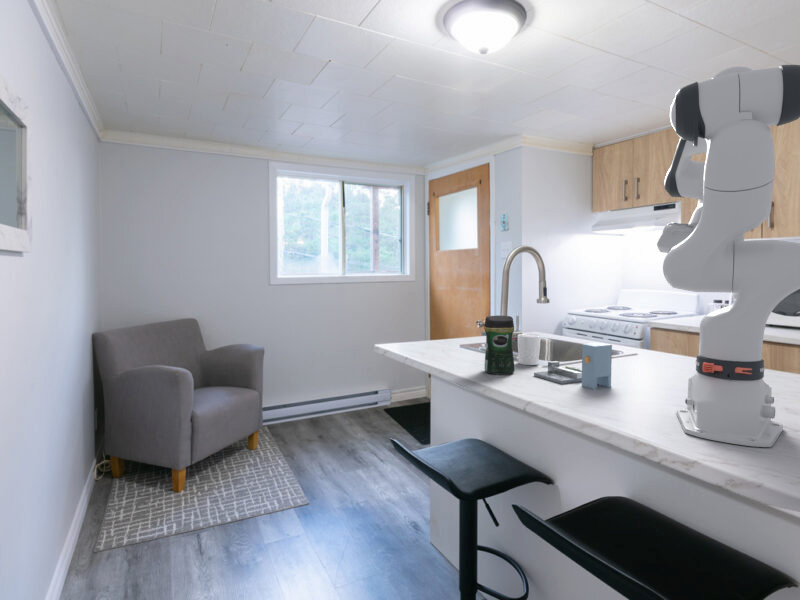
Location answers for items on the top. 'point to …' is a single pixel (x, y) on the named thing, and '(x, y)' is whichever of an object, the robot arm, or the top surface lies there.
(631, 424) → the top surface
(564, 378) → the rail plate
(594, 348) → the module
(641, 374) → the top surface
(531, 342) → the white cup
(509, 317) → the coffee jar
